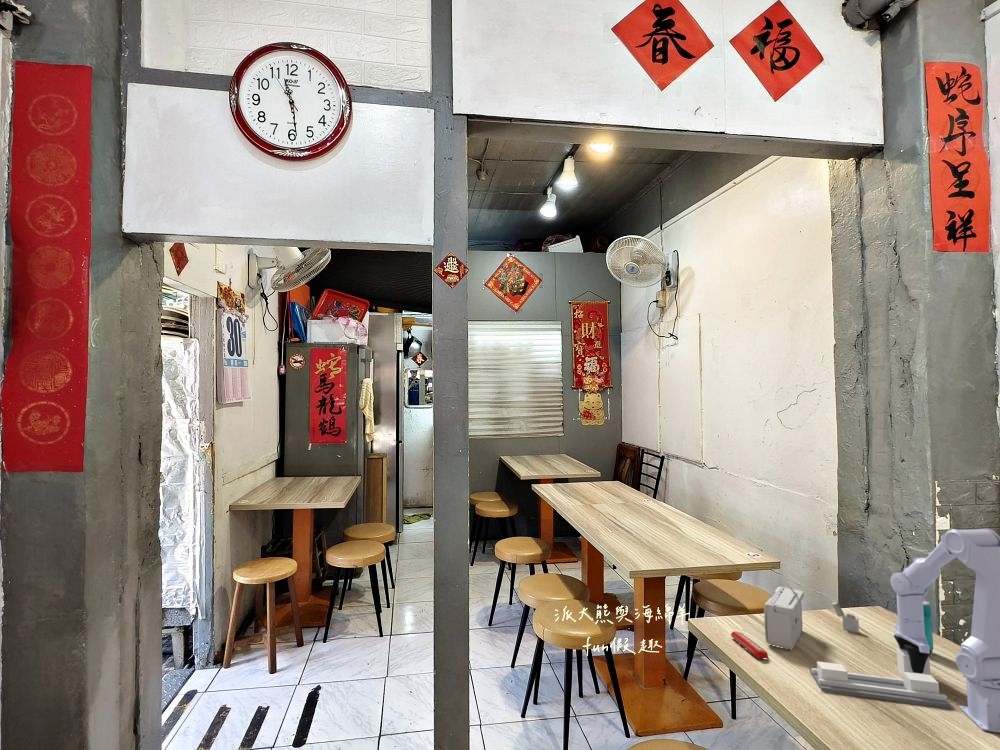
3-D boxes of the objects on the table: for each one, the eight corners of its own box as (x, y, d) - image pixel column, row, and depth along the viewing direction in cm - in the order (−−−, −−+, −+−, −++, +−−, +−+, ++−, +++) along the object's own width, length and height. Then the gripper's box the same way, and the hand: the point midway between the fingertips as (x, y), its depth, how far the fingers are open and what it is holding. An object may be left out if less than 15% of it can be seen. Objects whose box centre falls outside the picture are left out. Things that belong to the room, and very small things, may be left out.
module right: (939, 697, 128) (938, 682, 128) (911, 693, 130) (910, 679, 130) (930, 688, 132) (930, 675, 132) (903, 685, 134) (902, 671, 134)
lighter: (859, 632, 168) (858, 607, 169) (857, 633, 167) (856, 608, 167) (834, 624, 174) (833, 600, 174) (833, 626, 173) (831, 602, 173)
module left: (848, 685, 134) (847, 671, 134) (822, 682, 135) (821, 668, 136) (842, 677, 138) (841, 664, 138) (817, 674, 139) (816, 661, 140)
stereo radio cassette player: (778, 624, 174) (776, 564, 176) (806, 630, 169) (803, 569, 171) (764, 646, 158) (761, 580, 160) (794, 654, 153) (791, 586, 154)
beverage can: (938, 657, 151) (935, 605, 152) (916, 655, 152) (913, 603, 153) (926, 648, 157) (923, 598, 158) (905, 646, 158) (902, 596, 159)
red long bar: (770, 662, 149) (770, 651, 149) (759, 663, 148) (758, 652, 149) (739, 637, 165) (739, 628, 165) (728, 638, 164) (728, 628, 165)
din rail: (951, 708, 125) (950, 700, 125) (821, 691, 133) (821, 683, 133) (929, 687, 135) (929, 679, 135) (810, 672, 142) (809, 665, 143)
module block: (930, 680, 138) (929, 657, 138) (904, 677, 139) (903, 654, 140) (923, 673, 142) (921, 650, 142) (897, 670, 143) (896, 647, 144)
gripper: (882, 606, 150) (884, 654, 149) (906, 626, 136) (909, 679, 135) (910, 609, 148) (913, 657, 147) (938, 629, 134) (941, 683, 133)
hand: (913, 668), depth 141 cm, fingers closed on module block, 4 cm apart
